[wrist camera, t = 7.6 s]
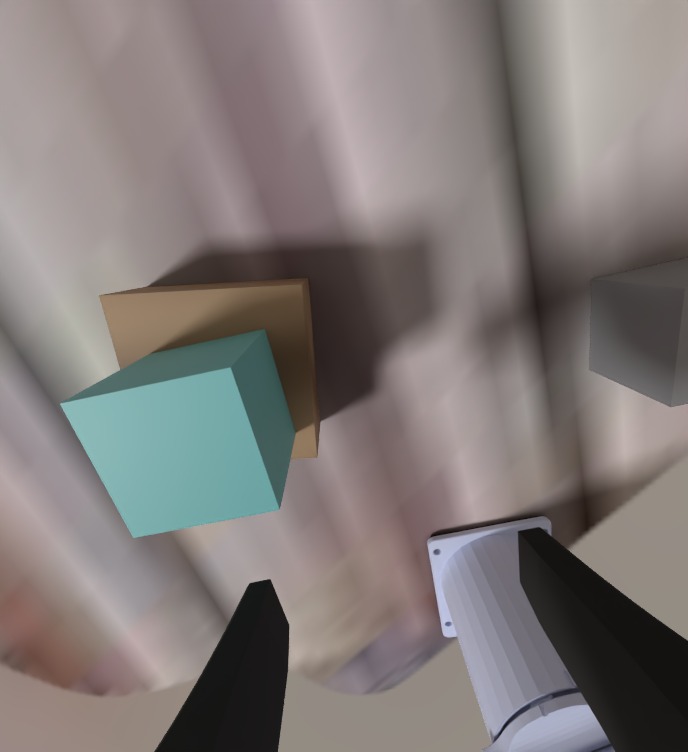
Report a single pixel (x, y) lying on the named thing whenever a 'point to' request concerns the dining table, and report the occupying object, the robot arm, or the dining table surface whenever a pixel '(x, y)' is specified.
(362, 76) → the dining table surface
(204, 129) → the dining table surface
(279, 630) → the robot arm
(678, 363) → the gray cube
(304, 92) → the dining table surface
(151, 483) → the teal cube
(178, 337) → the base block
